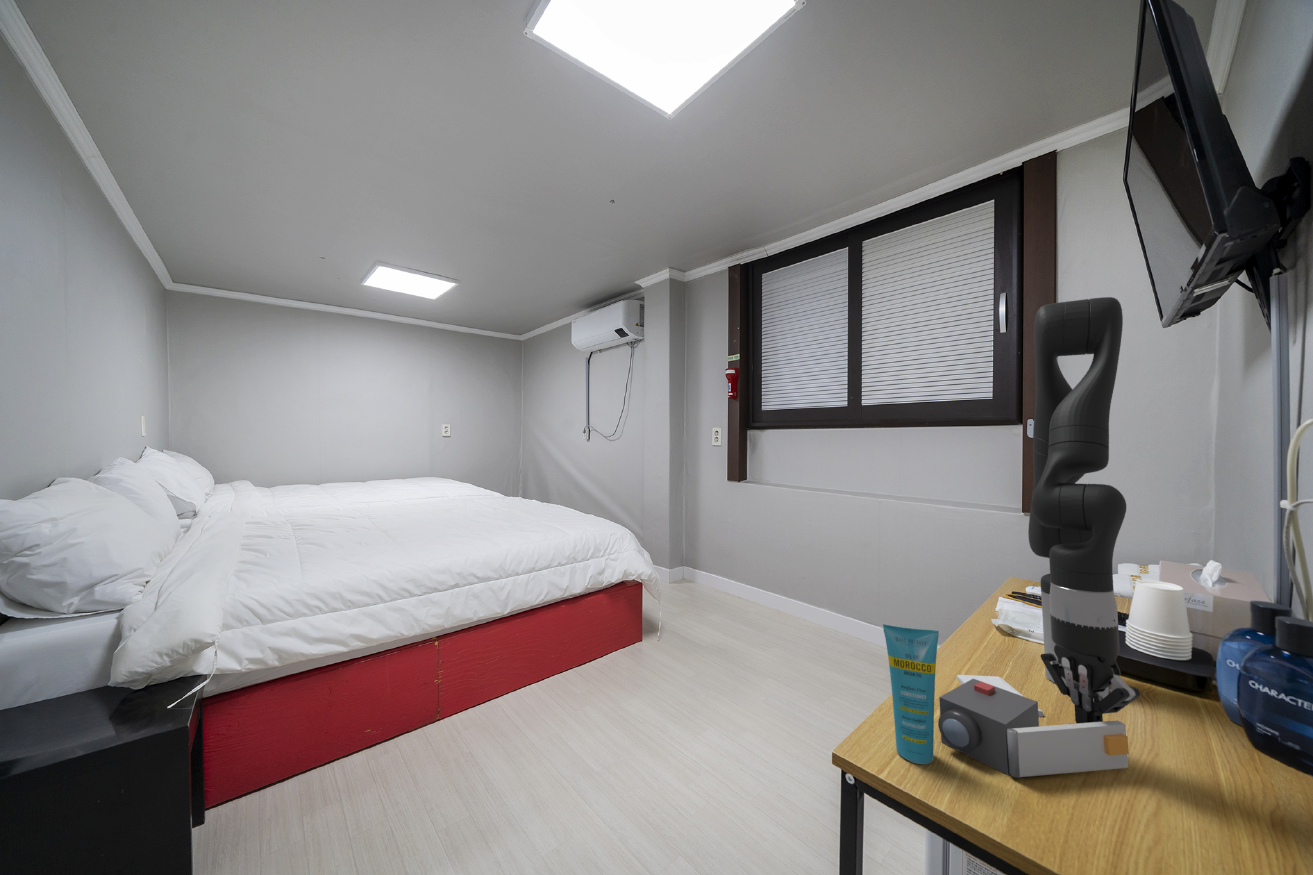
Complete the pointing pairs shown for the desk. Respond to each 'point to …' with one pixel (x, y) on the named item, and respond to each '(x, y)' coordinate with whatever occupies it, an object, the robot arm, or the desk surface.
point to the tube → (913, 689)
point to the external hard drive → (992, 681)
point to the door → (1067, 748)
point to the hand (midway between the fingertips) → (1089, 732)
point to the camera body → (984, 721)
